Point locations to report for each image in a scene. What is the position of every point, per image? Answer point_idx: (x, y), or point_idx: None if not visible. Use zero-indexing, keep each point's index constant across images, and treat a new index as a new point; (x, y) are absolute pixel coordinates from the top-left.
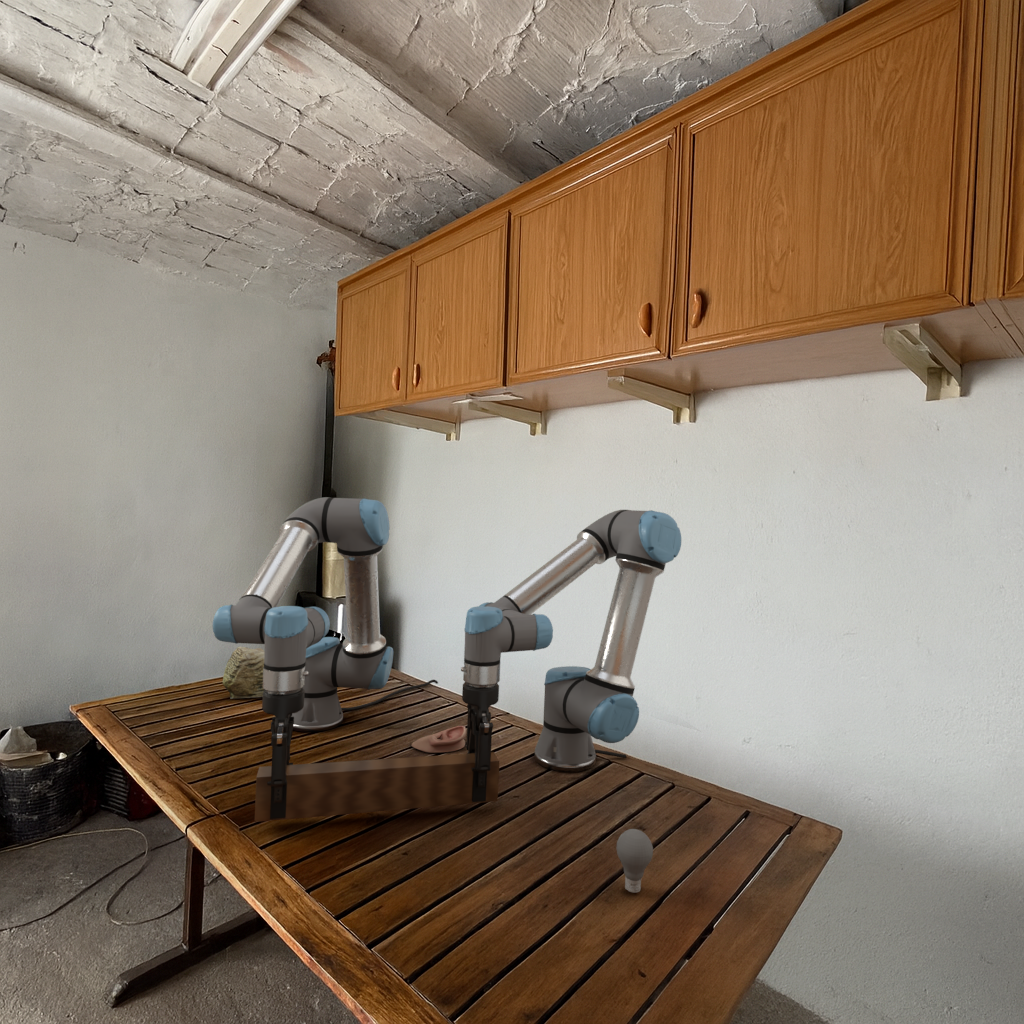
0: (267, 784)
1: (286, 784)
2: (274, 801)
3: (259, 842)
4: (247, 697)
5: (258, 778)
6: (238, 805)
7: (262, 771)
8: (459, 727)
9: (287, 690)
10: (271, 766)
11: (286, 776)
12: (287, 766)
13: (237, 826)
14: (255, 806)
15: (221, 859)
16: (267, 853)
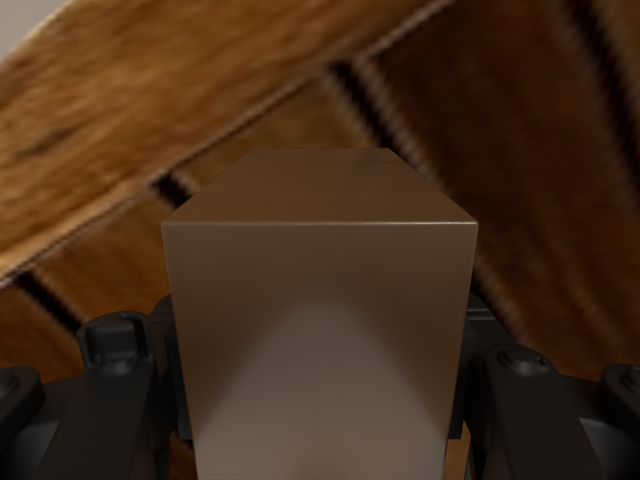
0: (86, 324)
1: (180, 430)
2: (163, 301)
3: (207, 169)
4: None
5: (166, 241)
6: (606, 13)
7: (326, 271)
8: None
9: None
10: (446, 349)
11: (199, 474)
12: (408, 478)
13: (370, 45)
14: (233, 163)
15: (71, 15)
16: (119, 210)
